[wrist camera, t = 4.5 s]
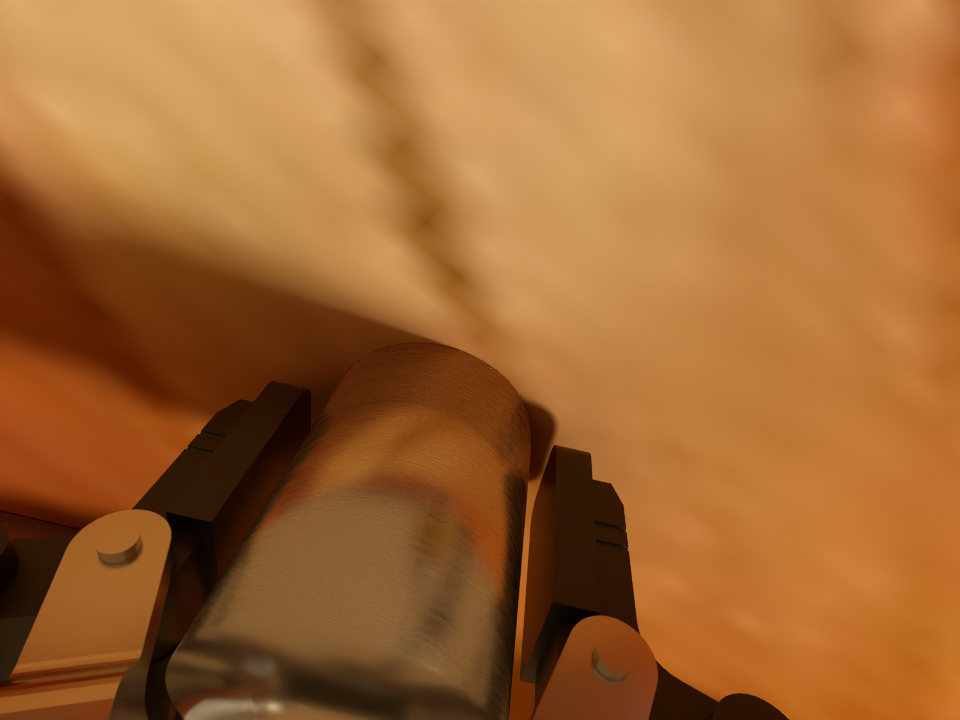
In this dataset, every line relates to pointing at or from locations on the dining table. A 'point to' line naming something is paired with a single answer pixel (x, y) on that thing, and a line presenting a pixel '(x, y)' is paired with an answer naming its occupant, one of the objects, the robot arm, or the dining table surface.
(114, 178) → the dining table surface
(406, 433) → the cylinder
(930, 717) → the dining table surface
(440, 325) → the dining table surface
